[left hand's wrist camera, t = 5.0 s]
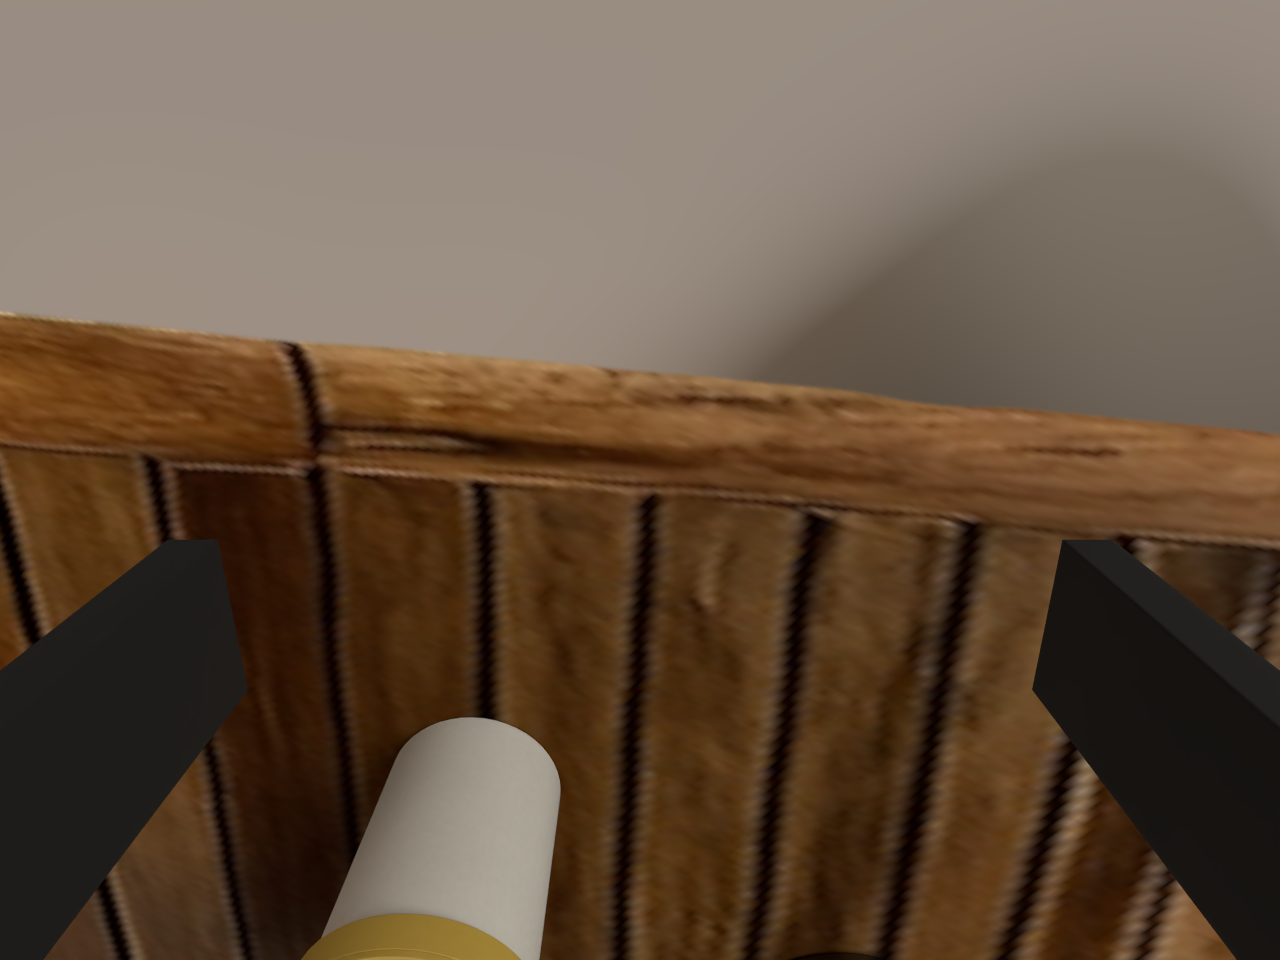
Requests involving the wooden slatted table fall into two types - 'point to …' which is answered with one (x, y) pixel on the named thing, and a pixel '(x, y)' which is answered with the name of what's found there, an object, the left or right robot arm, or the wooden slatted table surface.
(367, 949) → the lid
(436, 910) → the jar
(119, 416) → the wooden slatted table surface
